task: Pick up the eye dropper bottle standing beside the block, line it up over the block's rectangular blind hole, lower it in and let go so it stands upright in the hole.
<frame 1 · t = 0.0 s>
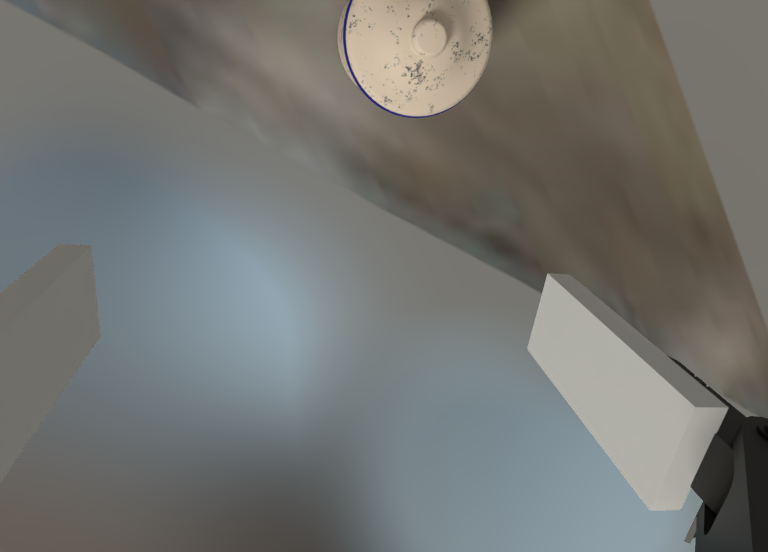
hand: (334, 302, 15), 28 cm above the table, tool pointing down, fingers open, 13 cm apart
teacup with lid: (383, 22, 38), on the table
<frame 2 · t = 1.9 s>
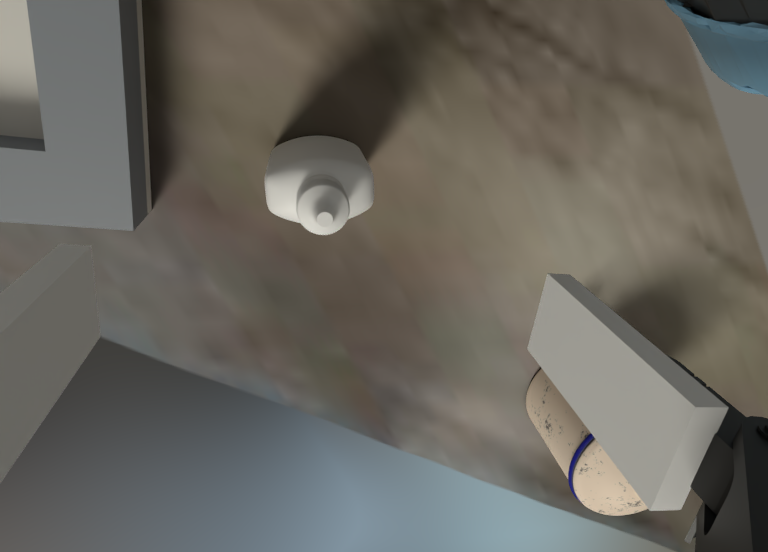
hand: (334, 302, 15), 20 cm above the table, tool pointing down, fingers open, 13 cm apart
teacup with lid: (564, 377, 43), on the table
hole block: (7, 58, 28), on the table
eye dropper bottle: (316, 161, 33), on the table
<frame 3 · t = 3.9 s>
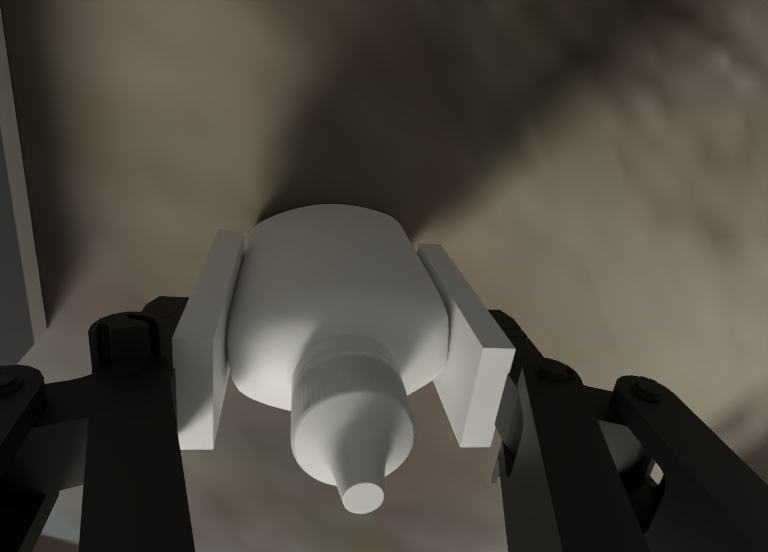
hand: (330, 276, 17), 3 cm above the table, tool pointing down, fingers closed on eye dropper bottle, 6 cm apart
eye dropper bottle: (326, 244, 20), on the table, touching gripper
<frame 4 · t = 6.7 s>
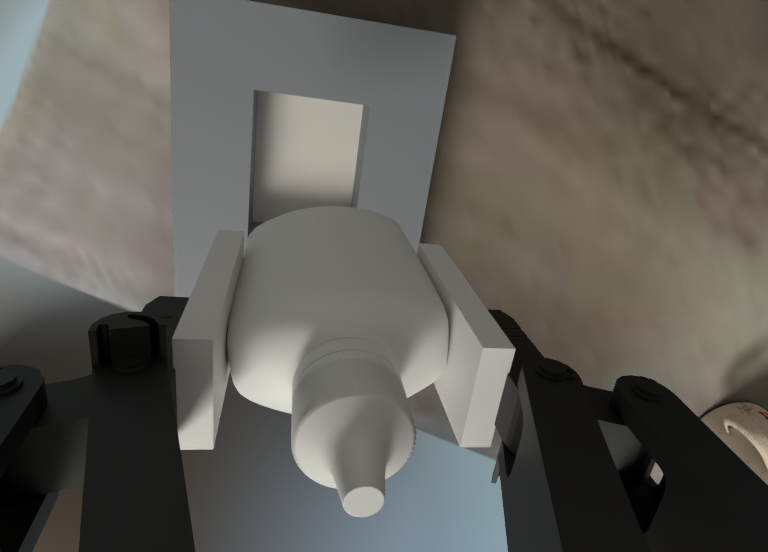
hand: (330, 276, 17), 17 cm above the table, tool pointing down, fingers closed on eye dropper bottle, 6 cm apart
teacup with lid: (717, 426, 47), on the table
hole block: (306, 159, 32), on the table
eye dropper bottle: (326, 246, 20), point 14 cm above the table, touching gripper
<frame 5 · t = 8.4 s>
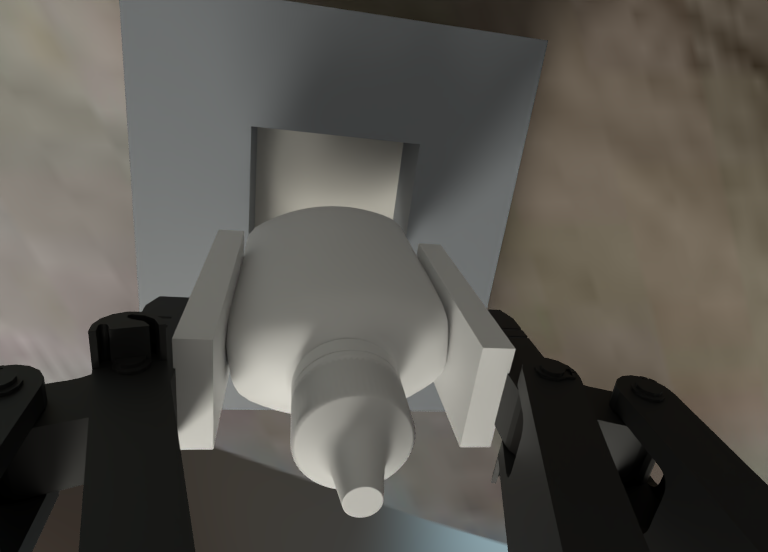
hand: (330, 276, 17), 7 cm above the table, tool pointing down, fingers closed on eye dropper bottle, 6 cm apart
hole block: (324, 211, 23), on the table
eye dropper bottle: (325, 246, 20), point 4 cm above the table, touching gripper
when the fingers open (6 cm above the table, at t = 9.5 s): eye dropper bottle drops 2 cm, resting on hole block.
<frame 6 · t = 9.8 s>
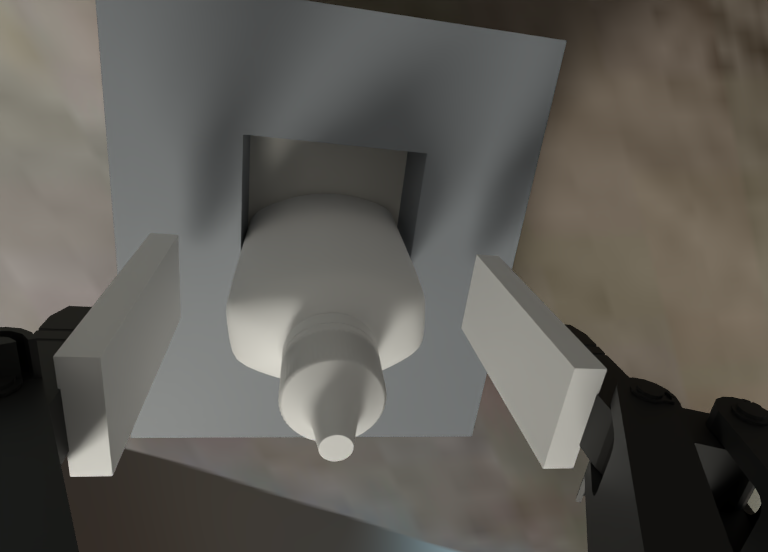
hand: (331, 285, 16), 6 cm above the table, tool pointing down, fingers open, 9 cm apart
hole block: (322, 223, 22), on the table
eye dropper bottle: (322, 230, 21), point 1 cm above the table, touching hole block
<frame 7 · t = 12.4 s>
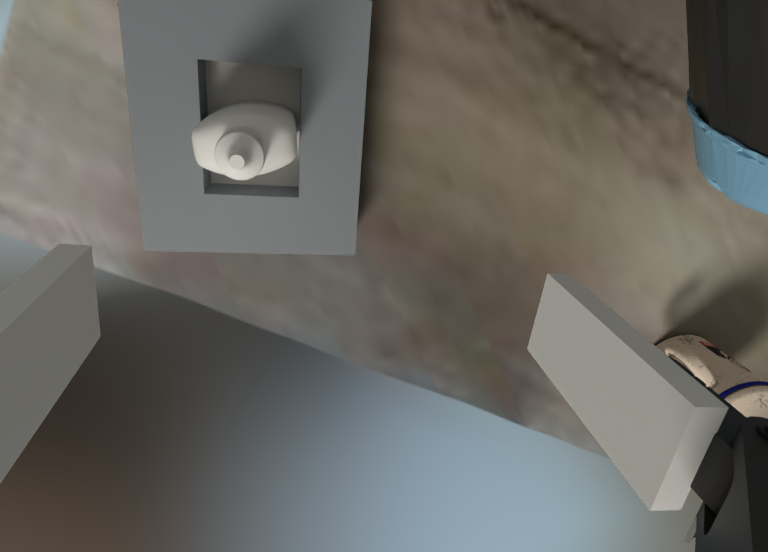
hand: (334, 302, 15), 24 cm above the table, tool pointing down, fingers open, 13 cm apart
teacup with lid: (665, 360, 51), on the table
hole block: (255, 124, 36), on the table
eye dropper bottle: (254, 126, 35), point 1 cm above the table, touching hole block
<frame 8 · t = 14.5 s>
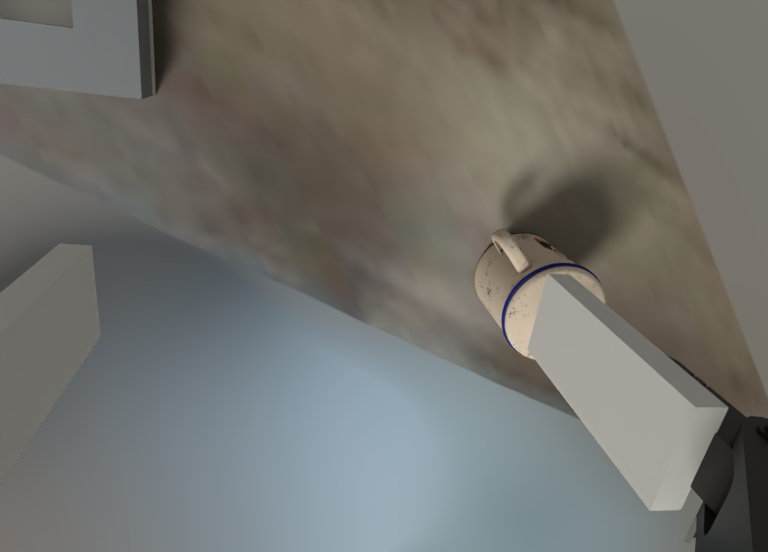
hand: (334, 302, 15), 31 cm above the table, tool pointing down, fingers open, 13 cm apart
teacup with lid: (508, 261, 51), on the table
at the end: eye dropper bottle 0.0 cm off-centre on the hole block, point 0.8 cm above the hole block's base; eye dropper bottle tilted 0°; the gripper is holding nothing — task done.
